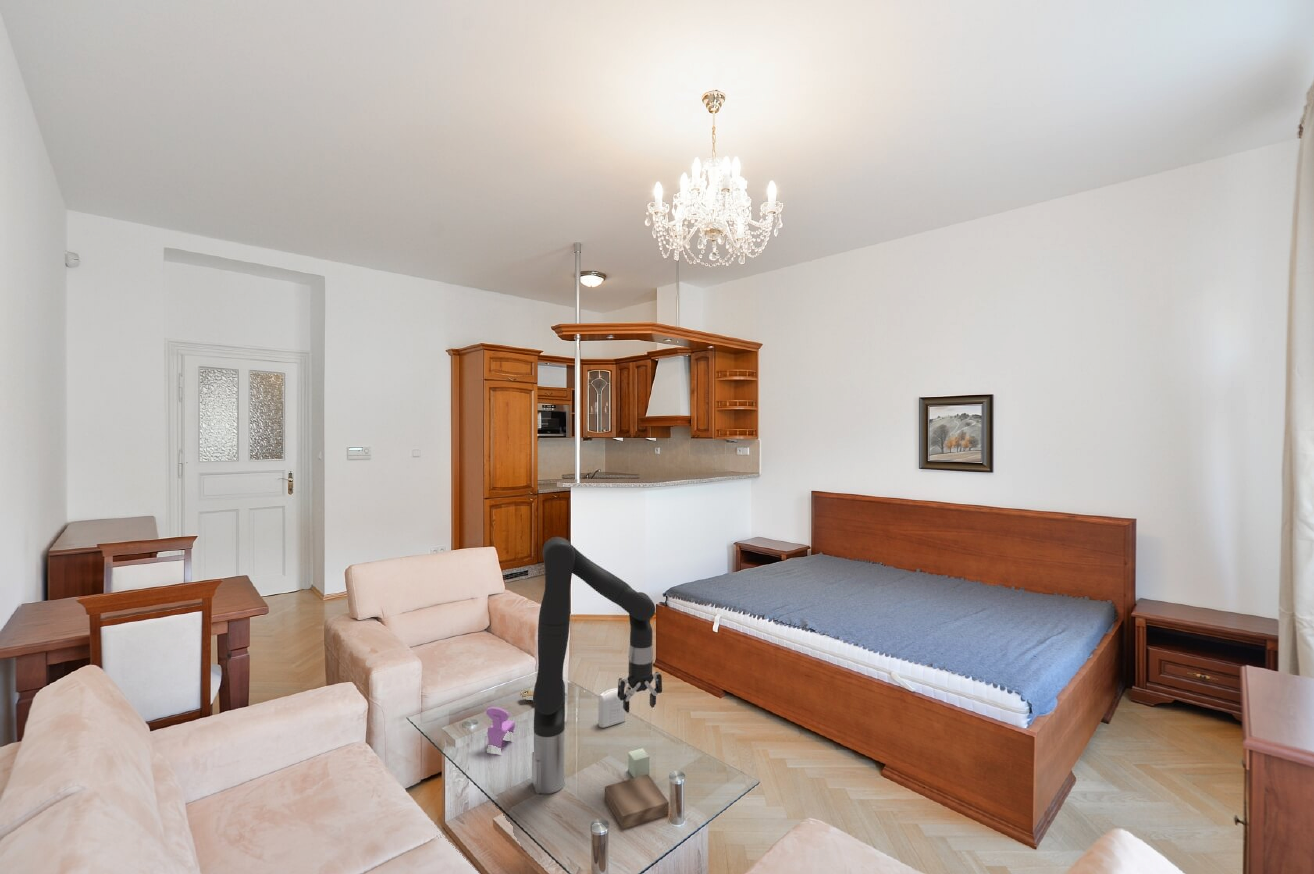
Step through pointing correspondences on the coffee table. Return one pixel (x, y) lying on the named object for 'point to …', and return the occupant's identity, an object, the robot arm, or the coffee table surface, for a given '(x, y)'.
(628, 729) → the coffee table surface
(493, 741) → the toy chair
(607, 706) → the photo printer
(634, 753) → the sage block
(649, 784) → the walnut block
